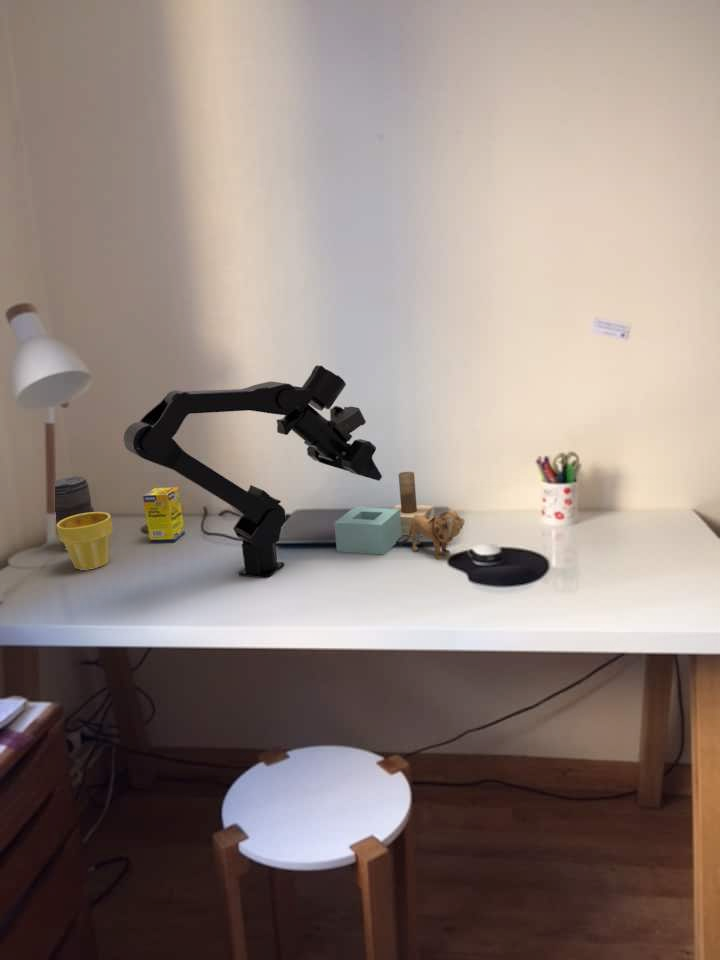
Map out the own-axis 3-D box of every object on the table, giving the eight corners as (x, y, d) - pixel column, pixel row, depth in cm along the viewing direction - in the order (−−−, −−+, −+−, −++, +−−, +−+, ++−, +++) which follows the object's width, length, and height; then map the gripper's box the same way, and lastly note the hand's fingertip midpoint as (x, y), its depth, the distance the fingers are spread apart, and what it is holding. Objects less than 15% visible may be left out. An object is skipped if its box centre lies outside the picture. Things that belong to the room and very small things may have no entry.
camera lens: (64, 543, 167) (51, 479, 164) (101, 537, 169) (89, 474, 165) (57, 554, 160) (43, 488, 156) (96, 549, 161) (83, 482, 157)
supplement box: (175, 542, 160) (167, 494, 158) (149, 543, 162) (141, 495, 159) (186, 533, 166) (178, 486, 163) (161, 534, 167) (153, 487, 164)
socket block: (383, 554, 142) (381, 524, 140) (336, 551, 146) (333, 522, 144) (402, 537, 150) (399, 508, 149) (357, 534, 154) (354, 507, 153)
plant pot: (106, 572, 146) (97, 525, 143) (56, 576, 147) (46, 529, 144) (126, 554, 156) (118, 509, 153) (78, 557, 157) (70, 513, 154)
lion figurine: (470, 554, 138) (468, 508, 136) (453, 563, 134) (450, 516, 132) (410, 540, 148) (407, 497, 146) (392, 549, 144) (389, 505, 142)
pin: (413, 513, 152) (411, 475, 150) (399, 512, 153) (396, 475, 151) (419, 508, 154) (416, 471, 152) (404, 508, 156) (401, 471, 154)
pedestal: (422, 536, 150) (421, 517, 149) (385, 534, 153) (384, 516, 152) (434, 523, 157) (433, 505, 156) (399, 522, 160) (398, 504, 159)
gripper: (363, 398, 134) (416, 448, 142) (315, 391, 149) (365, 436, 157) (328, 448, 132) (384, 496, 140) (283, 436, 147) (336, 479, 155)
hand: (368, 474), depth 148 cm, fingers open, 9 cm apart
